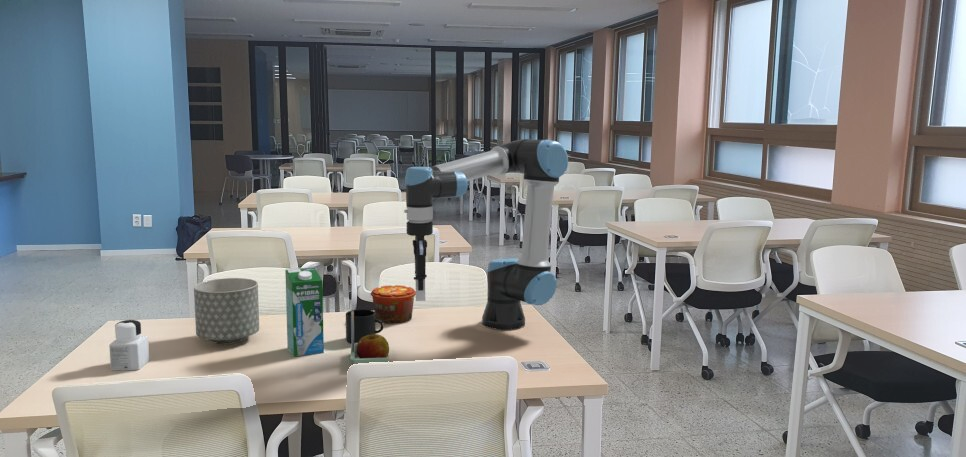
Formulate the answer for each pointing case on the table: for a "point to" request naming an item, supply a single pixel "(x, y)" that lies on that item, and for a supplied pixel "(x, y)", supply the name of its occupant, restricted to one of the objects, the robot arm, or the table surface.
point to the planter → (226, 309)
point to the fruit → (372, 347)
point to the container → (129, 347)
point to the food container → (393, 303)
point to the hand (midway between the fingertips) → (420, 300)
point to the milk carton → (304, 311)
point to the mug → (362, 324)
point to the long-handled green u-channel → (354, 349)
